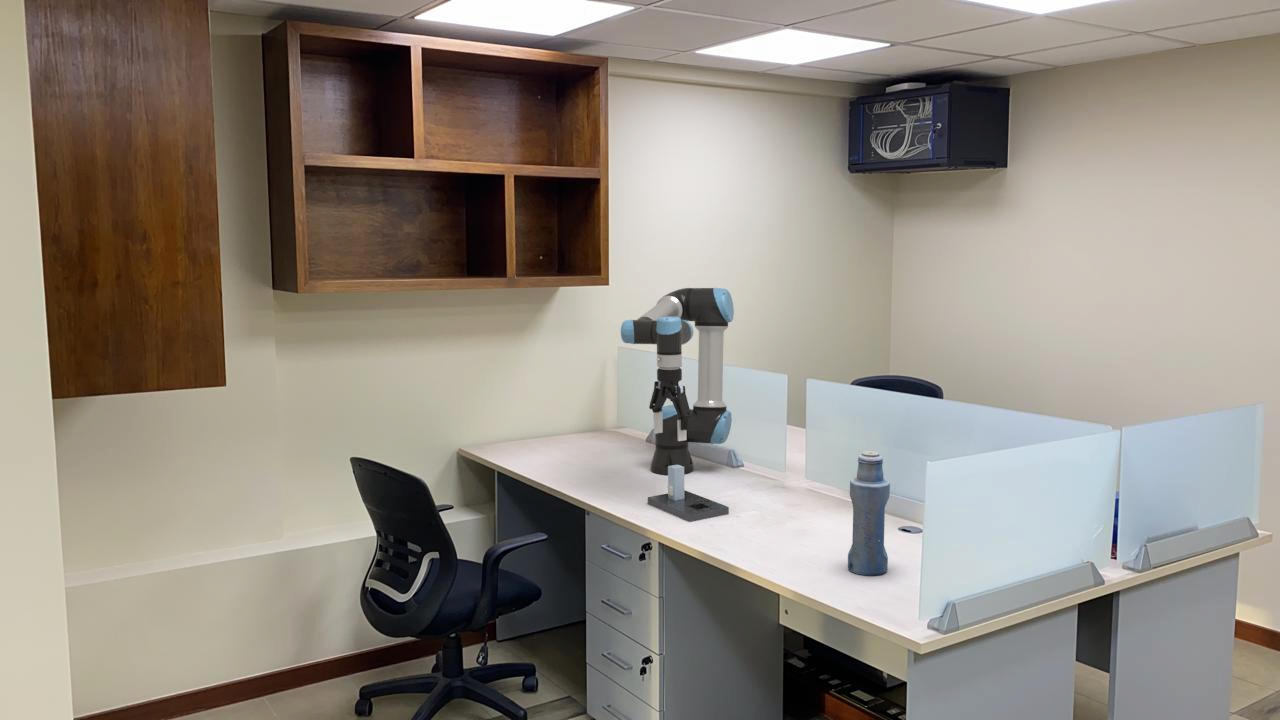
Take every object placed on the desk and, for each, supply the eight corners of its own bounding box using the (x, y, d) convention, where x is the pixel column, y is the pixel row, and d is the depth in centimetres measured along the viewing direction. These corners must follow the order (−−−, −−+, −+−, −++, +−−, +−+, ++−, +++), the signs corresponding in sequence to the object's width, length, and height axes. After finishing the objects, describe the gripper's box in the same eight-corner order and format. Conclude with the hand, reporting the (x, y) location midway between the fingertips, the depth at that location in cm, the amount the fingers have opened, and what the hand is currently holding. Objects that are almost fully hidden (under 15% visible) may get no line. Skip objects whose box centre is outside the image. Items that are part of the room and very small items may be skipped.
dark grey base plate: (685, 499, 316) (685, 490, 315) (728, 516, 296) (728, 506, 296) (647, 506, 308) (647, 497, 308) (690, 524, 289) (689, 514, 289)
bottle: (849, 561, 255) (851, 447, 251) (889, 565, 252) (891, 449, 248) (846, 574, 246) (847, 455, 242) (887, 577, 243) (889, 457, 239)
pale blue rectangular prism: (677, 502, 310) (677, 464, 308) (684, 504, 307) (684, 466, 305) (666, 504, 308) (666, 466, 306) (672, 507, 305) (672, 468, 303)
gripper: (637, 364, 311) (638, 431, 314) (681, 373, 290) (681, 445, 292) (658, 362, 315) (659, 428, 317) (702, 371, 293) (703, 442, 296)
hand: (669, 436), depth 305 cm, fingers open, 13 cm apart
